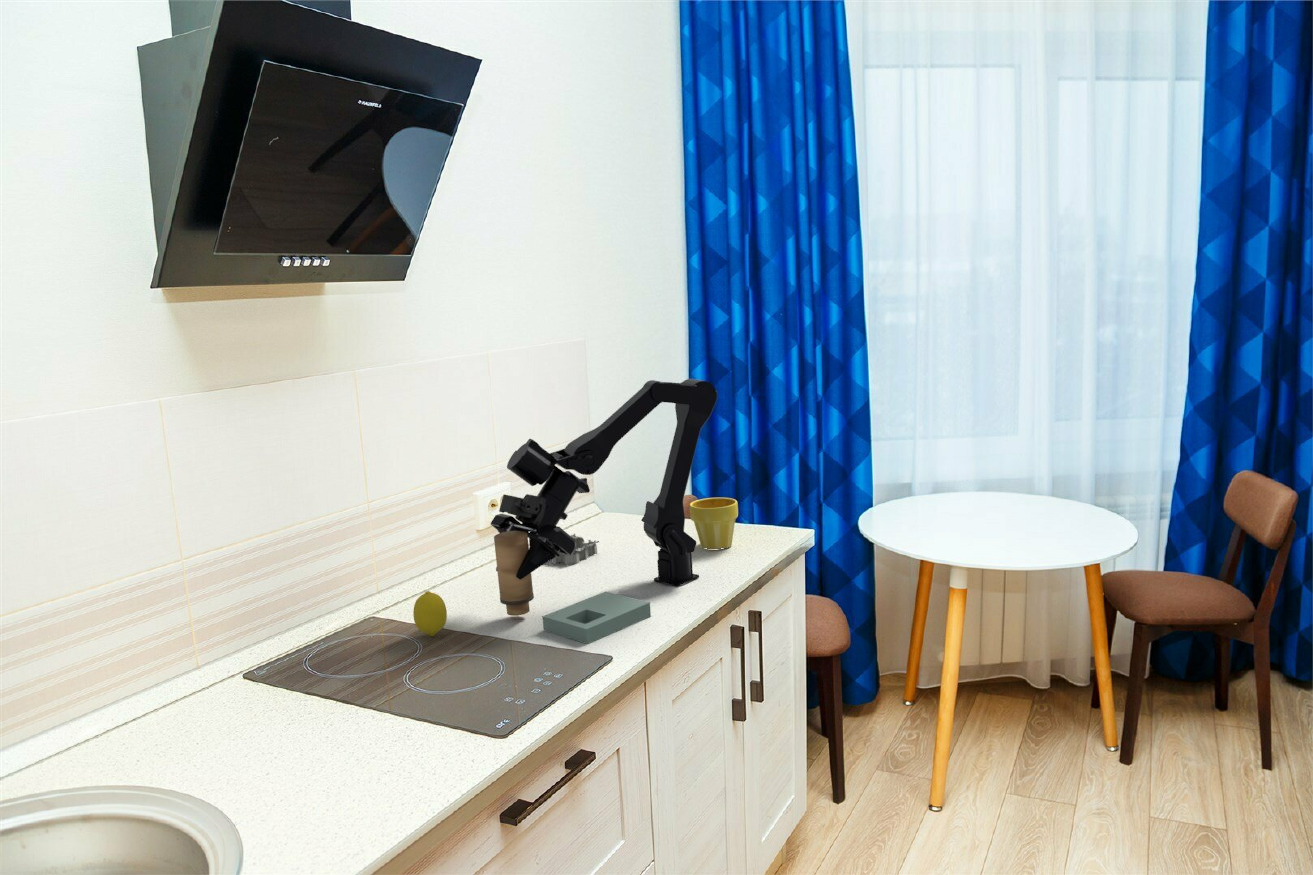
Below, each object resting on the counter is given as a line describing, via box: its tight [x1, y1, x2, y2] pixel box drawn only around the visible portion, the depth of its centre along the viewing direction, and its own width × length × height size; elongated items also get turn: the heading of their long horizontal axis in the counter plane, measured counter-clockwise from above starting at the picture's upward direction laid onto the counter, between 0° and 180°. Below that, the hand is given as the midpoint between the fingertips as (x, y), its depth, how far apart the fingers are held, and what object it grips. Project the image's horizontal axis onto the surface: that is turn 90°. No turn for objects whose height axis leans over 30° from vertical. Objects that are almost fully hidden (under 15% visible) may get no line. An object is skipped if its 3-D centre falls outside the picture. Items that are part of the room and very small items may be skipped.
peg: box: [493, 531, 535, 617], centre depth 166 cm, size 6×6×14 cm
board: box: [541, 591, 652, 645], centre depth 162 cm, size 15×11×2 cm
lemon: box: [412, 590, 448, 637], centre depth 161 cm, size 6×6×8 cm
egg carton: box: [551, 533, 600, 566], centre depth 203 cm, size 11×8×4 cm
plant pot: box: [689, 497, 739, 549], centre depth 203 cm, size 10×10×10 cm
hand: (507, 575), depth 165 cm, fingers closed on peg, 6 cm apart
